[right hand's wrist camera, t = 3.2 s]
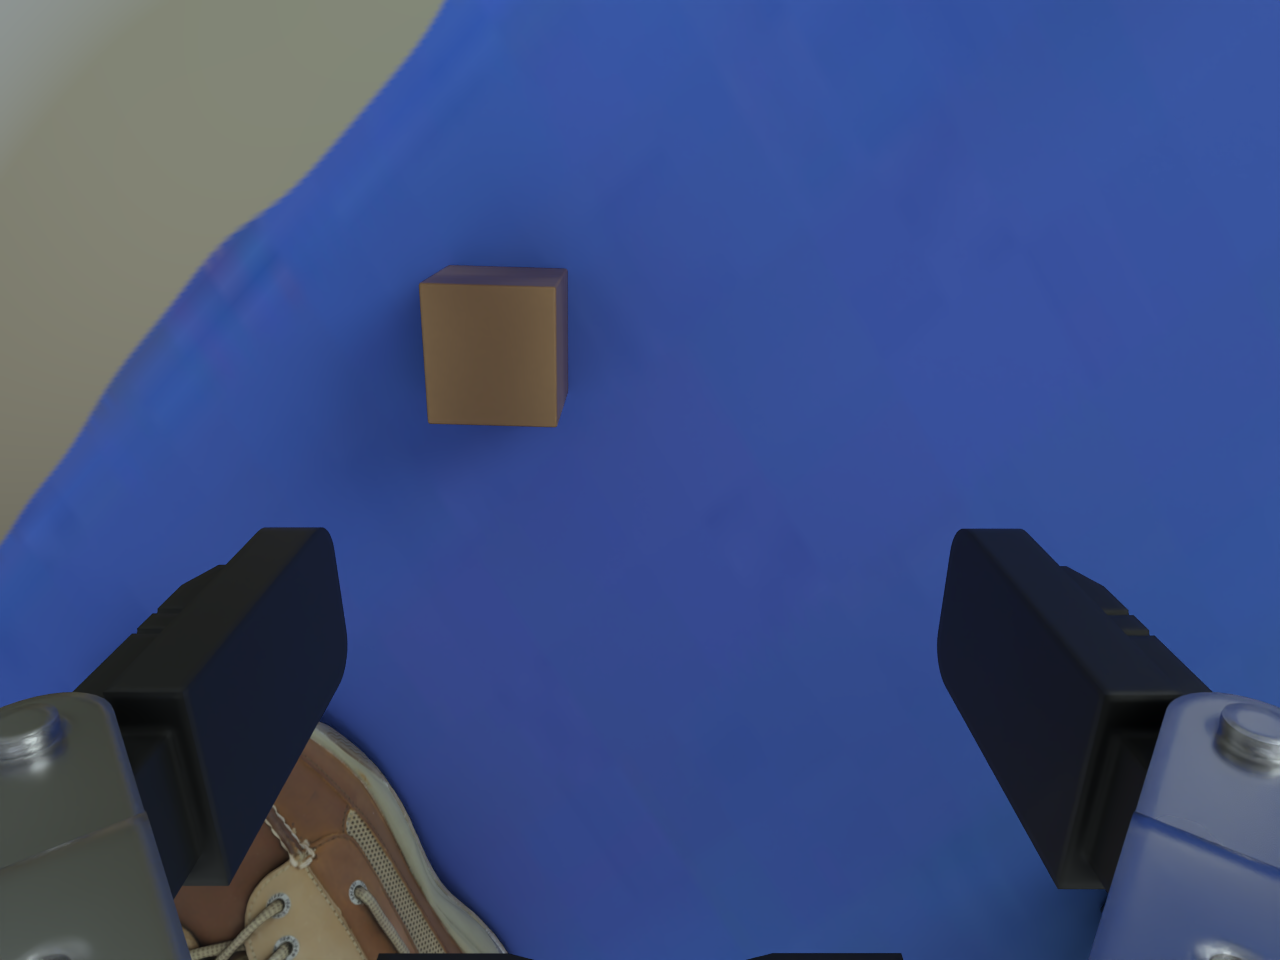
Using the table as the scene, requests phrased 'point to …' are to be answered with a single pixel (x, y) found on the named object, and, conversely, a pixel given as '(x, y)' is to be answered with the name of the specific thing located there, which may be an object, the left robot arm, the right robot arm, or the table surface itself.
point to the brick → (495, 345)
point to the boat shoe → (331, 875)
